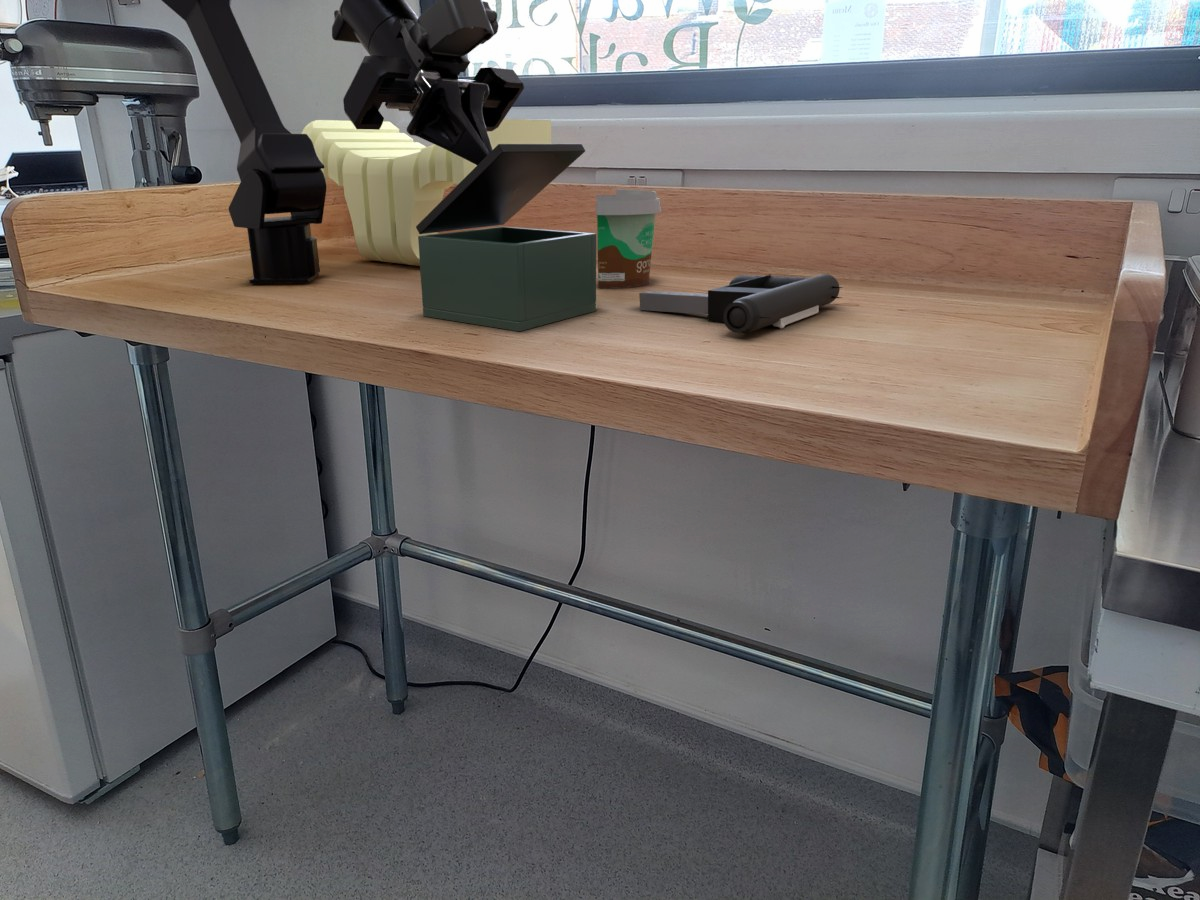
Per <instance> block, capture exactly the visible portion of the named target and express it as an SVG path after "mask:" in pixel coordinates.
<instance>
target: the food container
mask: <svg viewBox="0 0 1200 900" xmlns="http://www.w3.org/2000/svg"><path fill="white" fill-rule="evenodd" d="M661 212H662V208H661V202H660V198H659V197H658V193H657V191H652V190H646V189H645V190H644V189H619V188H617V189H615V194H596V203H595V216H596V223H597V224H596V229H597V231H596V232H597V233H596V239H597V288H598V289H599V288H601V289H620V288H621V289H622V288H623V289H624V288H635V287H641V286H645V285H648V284H649V283H650V274H651V263H652V253H653V245H654V243H653V242H654V233H655V223H656V222H655V221H656V214H659V213H661Z"/></svg>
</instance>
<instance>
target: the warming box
mask: <svg viewBox="0 0 1200 900" xmlns="http://www.w3.org/2000/svg"><path fill="white" fill-rule="evenodd" d="M418 242H419V257H420V266H419V271H420V285H421V287H420V288H421V299H422V300H421V302H422V316H423V317H426V318H433V319H439V320H445V321H450V322H451V321H453V322H458V323H464V324H469V325H477V326H482V327H489V328H497V329H501V330H502V329H503V330H508V331H514V332H522V331H526V330H531V329H534V328H538V327H542V326H546V325H550V324H553V323H556V322H560V321H564V320H567V319H571V318H575V317H579V316H582V315H586V314H590V313H594V312H597V233H595V232H583V231H571V230H570V231H569V230H556V229H543V228H530V227H516V226H504V225H499V226H490V227H481V228H473V229H464V230H455V231H447V232H438V234H430V235H422V236H418Z"/></svg>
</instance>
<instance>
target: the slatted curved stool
mask: <svg viewBox="0 0 1200 900" xmlns="http://www.w3.org/2000/svg"><path fill="white" fill-rule="evenodd" d="M487 133H488V136H489V139H490V143H491V146H492V149H494V148H495V147H496V146H497V145H498V144H552V120H551V119H550V120H549V119H524V118H523V119H521V118H504V119H503V121H502V122H501V124H500V125H499V127H498V128H496V129H495V130H493V131H487ZM300 134H307V135H308V137H309V138H310V139H311V141H312V143H313V146H314V149H315V152H316V154H317V156H318V158H319V160H320V161H321V163H322V164H323V165H324V168H323V169H321V170H322V172H323V174H324V177H325V180H326V179H329V180H332V181H333V182H334V183H335V184H336V185H337V186H338V187H343V194H344V196H343V197H344V199H345V202H346V205H347V209H348V212H349V216H350V219H351V220H350V221H351V224H352V228H353V229H352V230H353V237H354V241H355V245H356V249H357V250H358V253H359V254H360V256H361V257H362V258H363V259H365V260H367V261H375V262H381V263H383V262H385V263H391V264H400V265H408V266H415V267H416V266H417V267H420V257H419V242H418V236H422V235H430V234H439V232H435V233H426V234H419V232H418V230H417V228H416V226H417V225H418V224H419V223H420V222H421V221H422V220H423V219H424V218H425V217H426V216H427V215H428V214H429V213H430V212H431V211H432V210H433V209H434V208H435V207H436V206H437V205H438V204H439V203H440V202H441V201H442V200H443V199H444V198H443V197H444V194H445V190H448V189H450V188H451V187H452V186H454V185H456V186H457V185H458V184H459V183H460V182H461V181H462V180H463V179H464V178H465V177H466V176H467V175H468V174H469V173H470V172H471V171H472V170H473V169H474V168H475V167H476V166H477V165H476V164H474V163H472V162H470V161H468V160H466V159H464V158H462V157H460V156H458V155H456V154H454V153H452V152H450V151H448V150H446V149H444V148H442V147H440V146H437V145H435V144H433V143H432V144H430V145H428V146H426V145H424V144H422V143H420V142H419V141H417V142H416V141H414V138H412V137H410V136H409V135H408V134H406V132H400V128H399V127H397V126H396V125H395V124H393V123H392V122H391V121H383V124H382V126H381V128H380V129H379V130H376V129H356V127H355V126H354V125H353V123H352V122H351V121H350V120H339V119H337V120H336V119H315V120H312V121H310V122H308V123H307V124H306V125H305V126H304V128H303V129H302V131H301V133H300Z"/></svg>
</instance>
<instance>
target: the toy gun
mask: <svg viewBox="0 0 1200 900" xmlns="http://www.w3.org/2000/svg"><path fill="white" fill-rule="evenodd" d="M843 288H844V287H841V286H840V283H839V281H838V279H836V277H834V276H833V275H831V274H827V273H822V274H818V275H814V276H811V277H808V276H807V277H806V276H778V275H772V274H765V275H752V274H750V275H748V274H741V275H738V276H735V277H733V278H732V279H731V281H730V282H729V284H727V285H724V286H720V287H716V288H712V289H708V290H707V293H699V292H682V291H681V292H680V291H678V292H677V291H664V290H663V291H661V290H646V291H641V292H639V297H638V298H639V310H640V311H649V312H664V313H665V312H667V313H680V314H693V315H707V322H711V323H713V322H715V323H724V325H725V327H726V328H727V329H728V330H729V331H731V332H733V333H739V334H749V333H753V332H755V331H758V330H760V329H763V328H766V327H768V326H771V325H772V327H776V328H778V329H781V330H782V329H784V328H785V326H786V325H789V324H792V323H794V322H797V321H800V320H803V319H806V318H808V317H810V316H814V315H816V314H819V312H820V311H819V308H822V307H824V306H827V305H830V304H831V303H833V302H834V301H835V300H836V299H843V297H841V296H839V294H840V289H843Z"/></svg>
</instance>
